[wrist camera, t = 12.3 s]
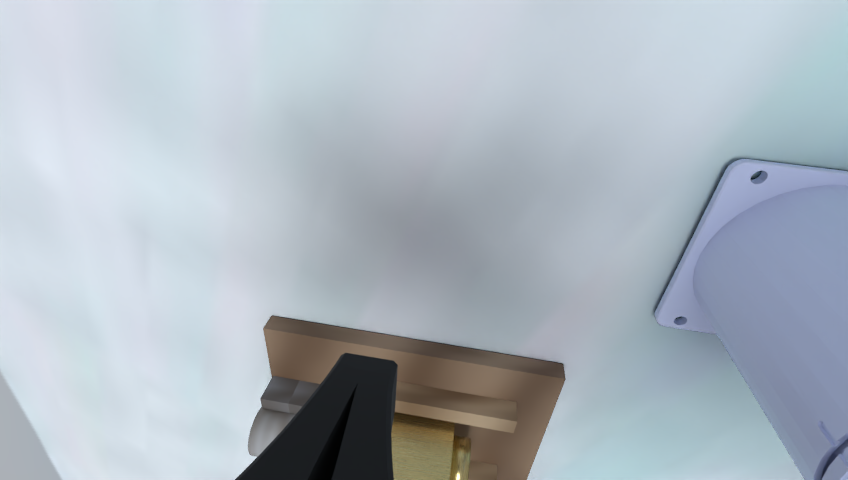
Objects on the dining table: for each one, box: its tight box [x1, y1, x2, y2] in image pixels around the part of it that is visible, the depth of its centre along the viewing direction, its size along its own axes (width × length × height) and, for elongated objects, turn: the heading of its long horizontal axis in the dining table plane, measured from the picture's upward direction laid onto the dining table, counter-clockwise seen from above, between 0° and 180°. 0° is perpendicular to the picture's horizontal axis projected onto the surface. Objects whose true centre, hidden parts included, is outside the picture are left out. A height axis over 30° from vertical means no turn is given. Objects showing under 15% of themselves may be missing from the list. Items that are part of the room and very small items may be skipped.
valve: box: [391, 412, 471, 480], centre depth 23 cm, size 8×4×6 cm, turn 86°
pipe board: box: [248, 316, 565, 480], centre depth 24 cm, size 16×12×5 cm
